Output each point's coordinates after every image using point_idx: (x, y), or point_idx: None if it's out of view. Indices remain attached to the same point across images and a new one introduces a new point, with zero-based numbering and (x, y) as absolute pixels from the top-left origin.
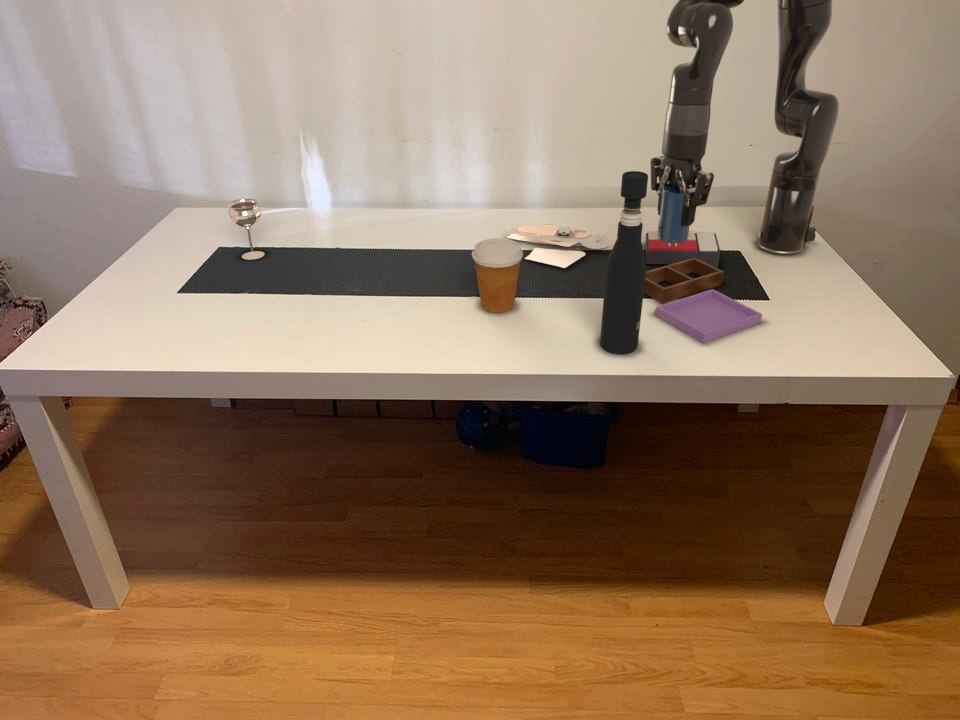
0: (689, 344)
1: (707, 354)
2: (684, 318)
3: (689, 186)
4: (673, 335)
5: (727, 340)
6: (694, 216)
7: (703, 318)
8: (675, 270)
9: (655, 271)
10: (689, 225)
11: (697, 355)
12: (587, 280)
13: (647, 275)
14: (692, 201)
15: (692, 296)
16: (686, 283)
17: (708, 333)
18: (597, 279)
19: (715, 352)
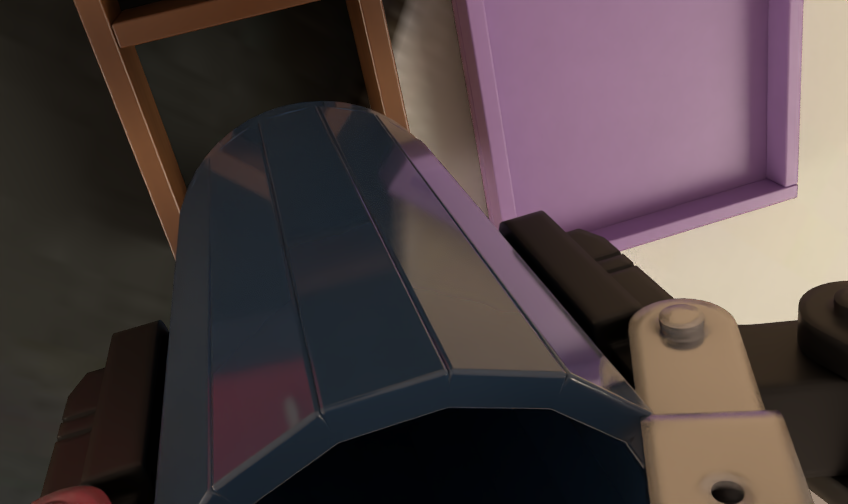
0: (747, 235)
1: (830, 206)
2: (603, 174)
3: (402, 410)
4: (667, 263)
5: (801, 72)
6: (630, 266)
7: (640, 88)
8: (191, 17)
9: (158, 146)
10: (460, 186)
11: (815, 243)
12: (32, 438)
13: (180, 202)
14: (822, 490)
15: (487, 58)
16: (391, 46)
17: (796, 175)
18: (27, 390)
19: (836, 170)
